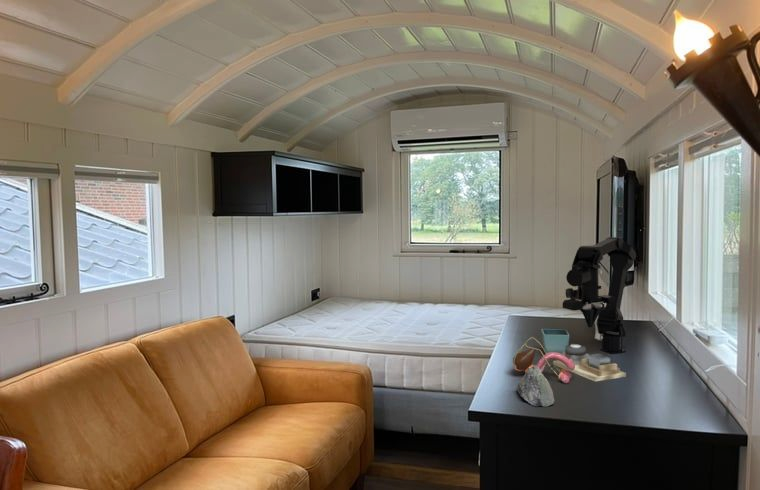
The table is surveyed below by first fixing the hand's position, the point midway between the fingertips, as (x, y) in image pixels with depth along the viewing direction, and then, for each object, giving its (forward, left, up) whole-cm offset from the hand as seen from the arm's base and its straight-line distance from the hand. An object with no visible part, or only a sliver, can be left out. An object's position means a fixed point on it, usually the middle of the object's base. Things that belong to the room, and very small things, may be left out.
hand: (590, 327), depth 185 cm
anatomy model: (+27, +10, -12) cm, 31 cm away
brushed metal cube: (+8, +14, -11) cm, 19 cm away
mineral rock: (+40, +24, -12) cm, 48 cm away
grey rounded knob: (+9, +3, -10) cm, 14 cm away
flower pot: (+8, -9, -12) cm, 17 cm away
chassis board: (+9, +9, -12) cm, 17 cm away
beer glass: (-25, -22, -12) cm, 36 cm away
